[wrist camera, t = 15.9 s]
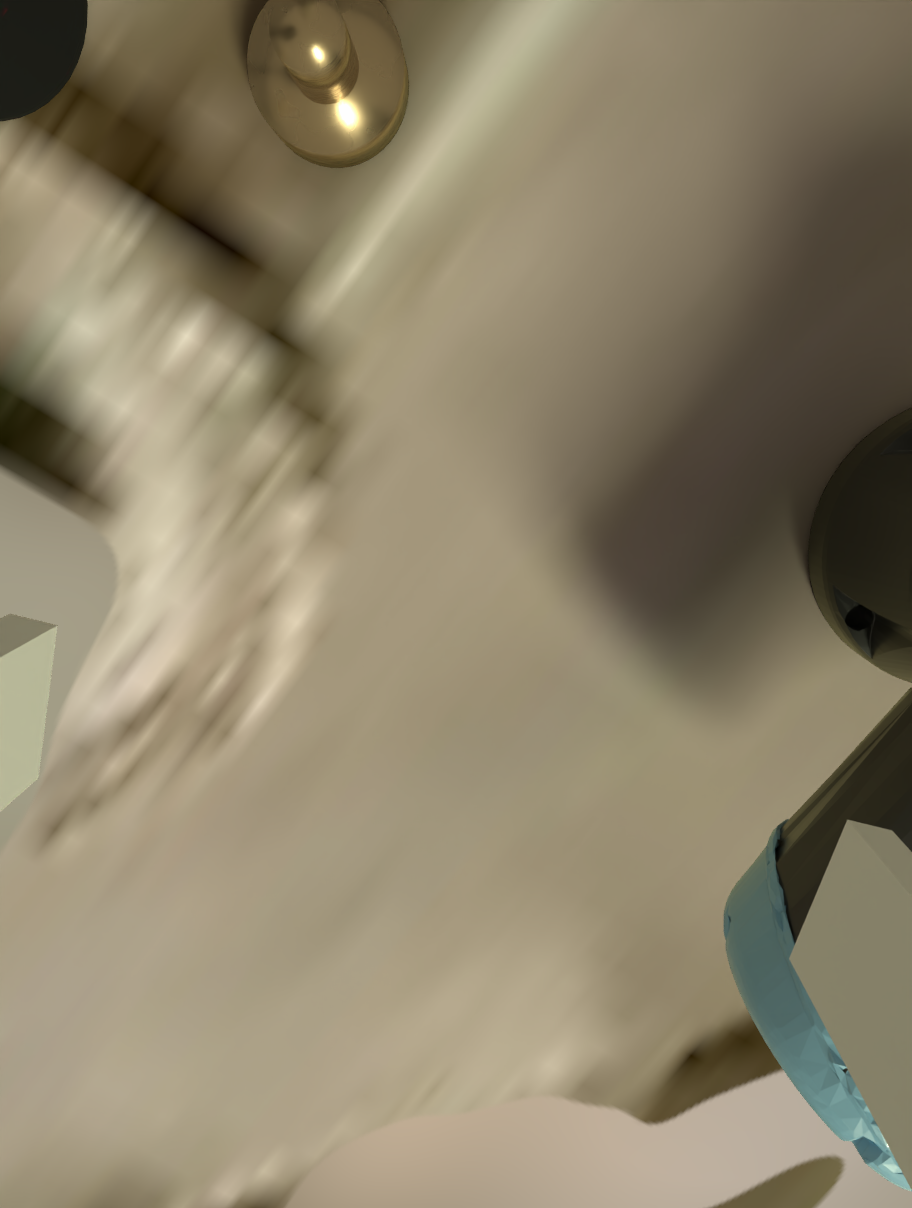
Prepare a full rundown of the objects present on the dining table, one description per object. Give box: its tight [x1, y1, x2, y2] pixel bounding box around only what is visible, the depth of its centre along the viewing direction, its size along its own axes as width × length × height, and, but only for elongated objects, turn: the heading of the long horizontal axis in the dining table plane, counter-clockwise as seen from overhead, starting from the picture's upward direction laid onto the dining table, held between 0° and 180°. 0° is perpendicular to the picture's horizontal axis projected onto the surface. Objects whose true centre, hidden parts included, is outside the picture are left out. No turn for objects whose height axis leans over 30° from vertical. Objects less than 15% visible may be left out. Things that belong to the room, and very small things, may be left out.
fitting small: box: [247, 0, 409, 168], centre depth 36 cm, size 7×7×6 cm
